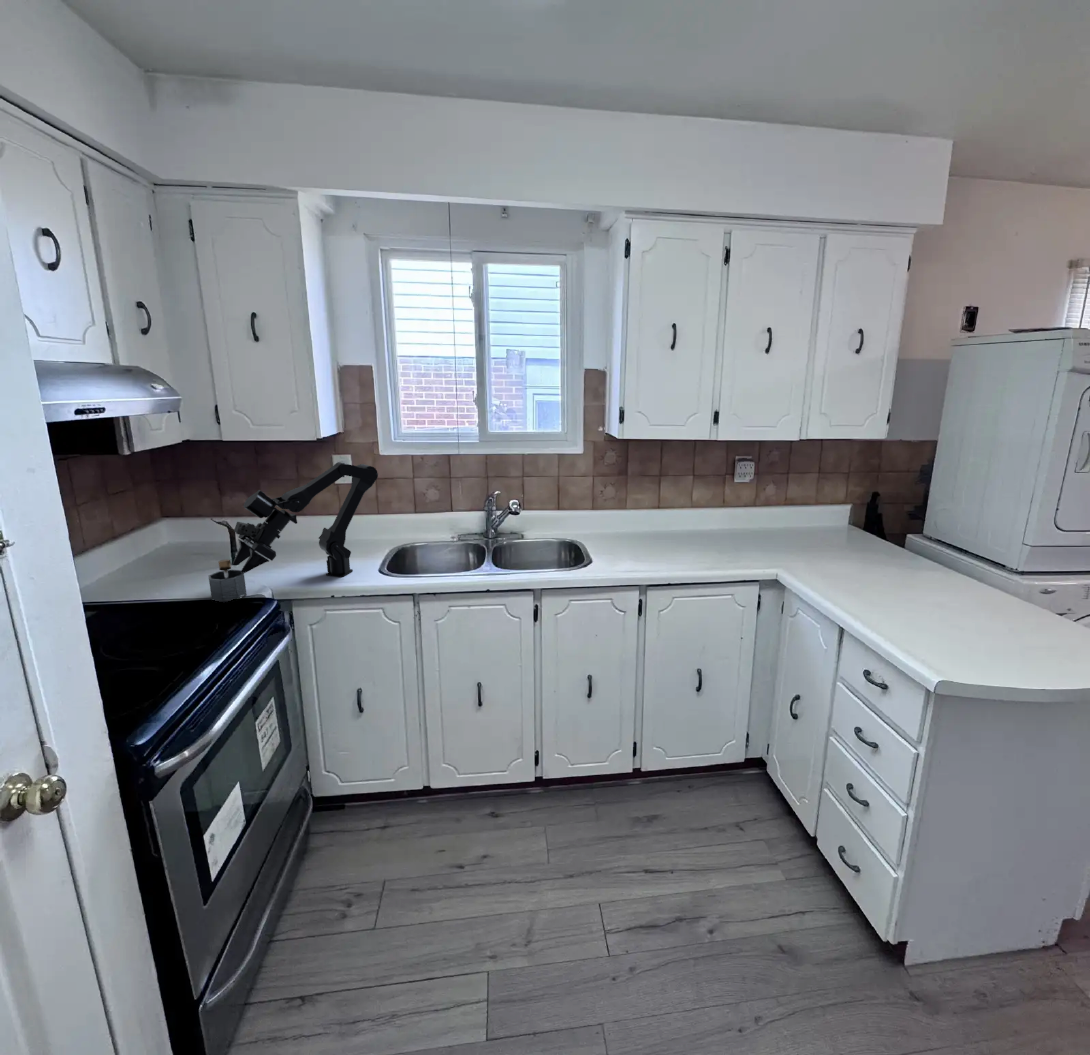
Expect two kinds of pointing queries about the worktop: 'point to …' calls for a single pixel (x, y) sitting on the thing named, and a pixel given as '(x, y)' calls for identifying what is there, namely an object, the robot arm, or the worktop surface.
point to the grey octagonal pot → (227, 585)
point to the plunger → (225, 567)
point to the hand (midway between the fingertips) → (238, 568)
